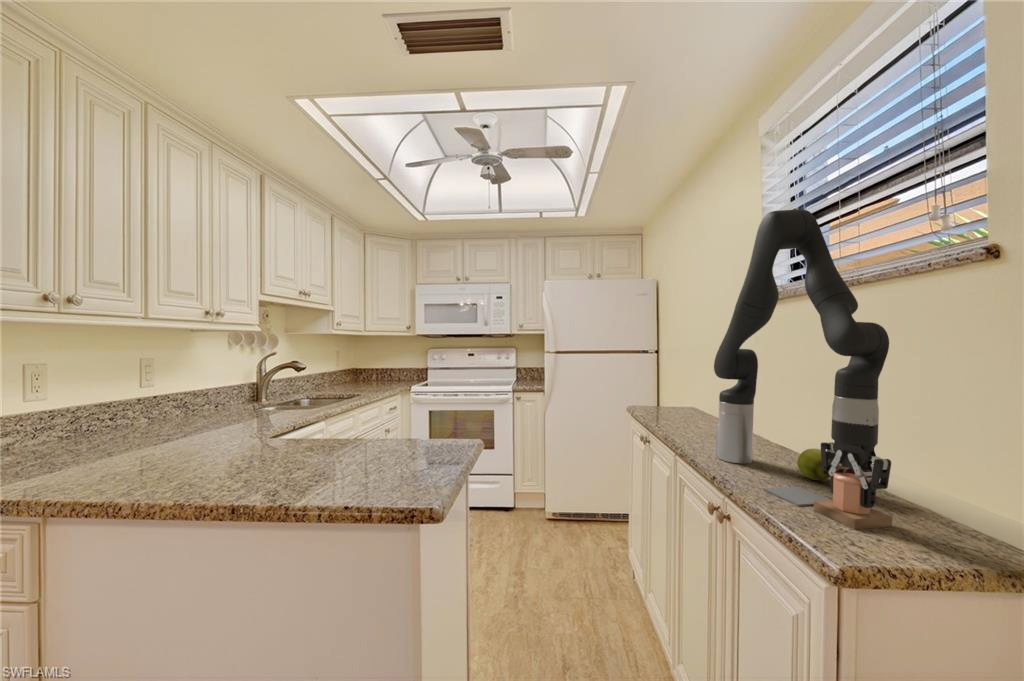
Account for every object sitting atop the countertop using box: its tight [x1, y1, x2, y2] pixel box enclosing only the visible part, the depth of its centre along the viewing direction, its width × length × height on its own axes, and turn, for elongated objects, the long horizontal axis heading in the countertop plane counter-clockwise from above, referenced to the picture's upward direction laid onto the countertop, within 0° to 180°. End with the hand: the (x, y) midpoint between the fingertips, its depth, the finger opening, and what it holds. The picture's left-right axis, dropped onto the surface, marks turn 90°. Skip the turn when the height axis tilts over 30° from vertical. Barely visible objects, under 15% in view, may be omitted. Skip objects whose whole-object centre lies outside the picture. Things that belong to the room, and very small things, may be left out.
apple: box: [796, 448, 831, 481], centre depth 114 cm, size 8×9×8 cm
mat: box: [763, 486, 831, 507], centre depth 101 cm, size 10×10×1 cm
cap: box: [832, 473, 870, 514], centre depth 90 cm, size 6×6×6 cm
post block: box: [813, 499, 893, 530], centre depth 90 cm, size 9×9×7 cm
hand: (851, 500), depth 90 cm, fingers closed on cap, 6 cm apart
